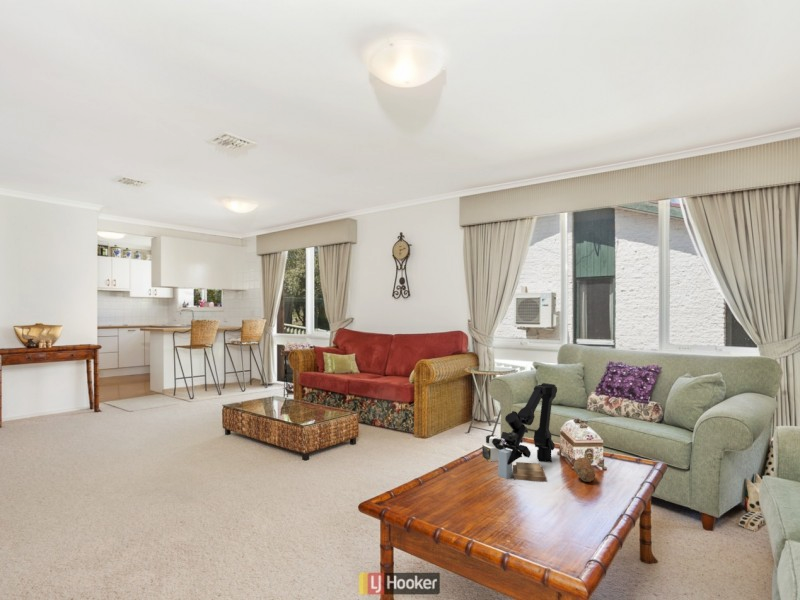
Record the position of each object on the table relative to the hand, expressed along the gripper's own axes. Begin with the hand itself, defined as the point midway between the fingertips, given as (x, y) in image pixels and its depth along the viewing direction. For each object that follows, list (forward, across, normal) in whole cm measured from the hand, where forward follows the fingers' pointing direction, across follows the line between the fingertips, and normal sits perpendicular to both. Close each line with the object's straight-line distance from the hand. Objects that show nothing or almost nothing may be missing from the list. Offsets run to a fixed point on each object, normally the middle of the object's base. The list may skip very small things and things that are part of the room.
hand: (503, 463), depth 214 cm
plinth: (-3, +6, +13) cm, 15 cm away
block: (+4, 0, +6) cm, 7 cm away
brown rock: (-13, +27, +23) cm, 38 cm away
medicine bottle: (-7, -19, +17) cm, 27 cm away
